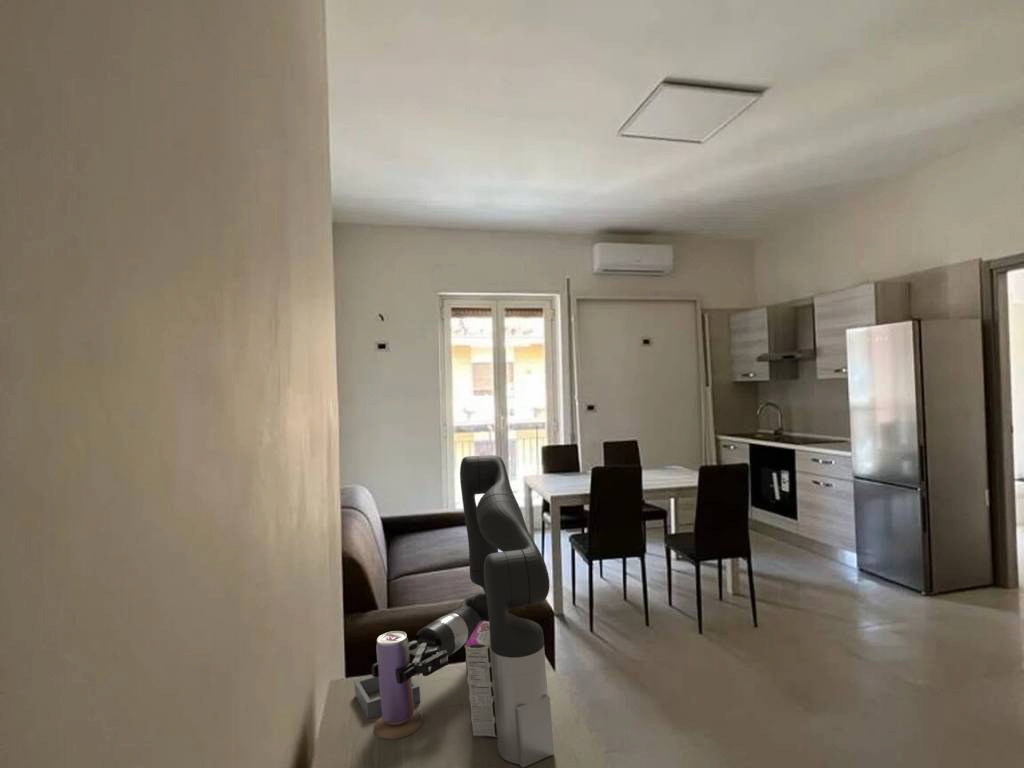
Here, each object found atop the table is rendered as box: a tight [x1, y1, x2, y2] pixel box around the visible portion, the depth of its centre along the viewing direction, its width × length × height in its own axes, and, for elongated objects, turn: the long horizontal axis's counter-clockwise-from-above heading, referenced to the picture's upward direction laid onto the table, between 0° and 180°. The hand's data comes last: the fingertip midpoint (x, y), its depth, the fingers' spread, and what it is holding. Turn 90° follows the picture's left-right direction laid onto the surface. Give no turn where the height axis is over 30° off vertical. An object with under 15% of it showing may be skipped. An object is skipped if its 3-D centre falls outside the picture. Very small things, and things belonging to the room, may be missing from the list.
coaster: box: [373, 709, 424, 740], centre depth 106 cm, size 9×9×1 cm
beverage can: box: [375, 630, 415, 725], centre depth 106 cm, size 6×6×15 cm
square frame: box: [354, 675, 421, 720], centre depth 116 cm, size 11×11×3 cm
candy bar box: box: [464, 621, 497, 738], centre depth 105 cm, size 11×5×16 cm, turn 168°
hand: (385, 675), depth 104 cm, fingers closed on beverage can, 5 cm apart
